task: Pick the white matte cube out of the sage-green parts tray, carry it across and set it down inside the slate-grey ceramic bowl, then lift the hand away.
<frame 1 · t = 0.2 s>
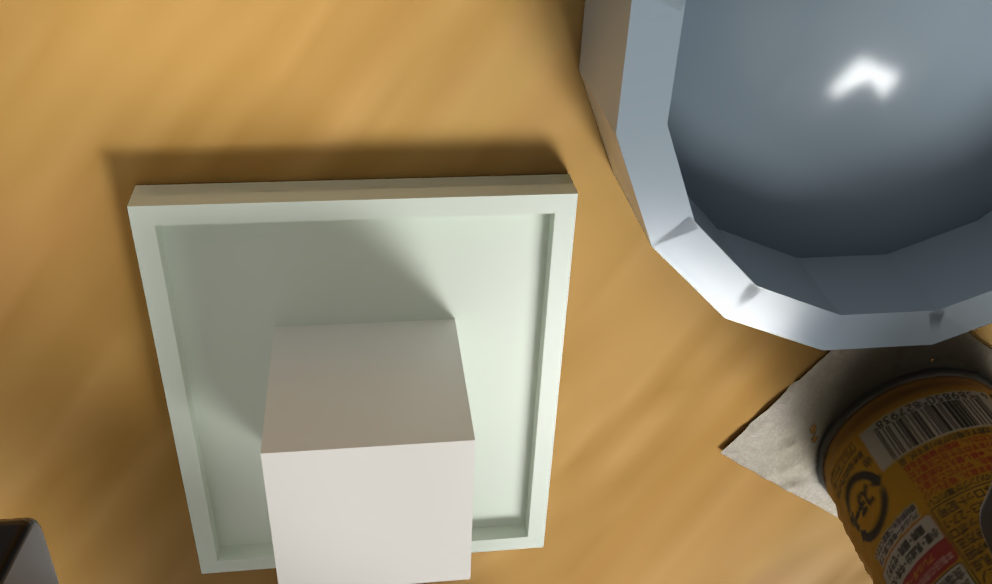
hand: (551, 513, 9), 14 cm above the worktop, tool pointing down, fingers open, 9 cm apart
white matte cube: (368, 392, 25), resting on tray
bowl: (887, 6, 21), on the worktop
tray: (368, 380, 25), on the worktop
condiment: (890, 421, 29), on the worktop
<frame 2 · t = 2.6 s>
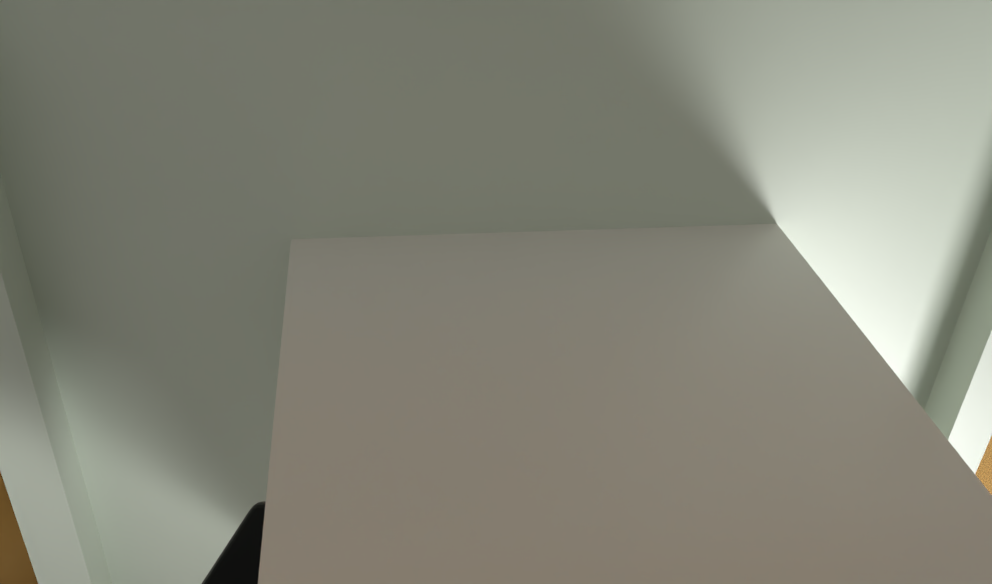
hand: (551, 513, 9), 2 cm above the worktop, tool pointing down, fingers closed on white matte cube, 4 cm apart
white matte cube: (528, 419, 10), resting on tray, touching gripper
tray: (520, 389, 10), on the worktop
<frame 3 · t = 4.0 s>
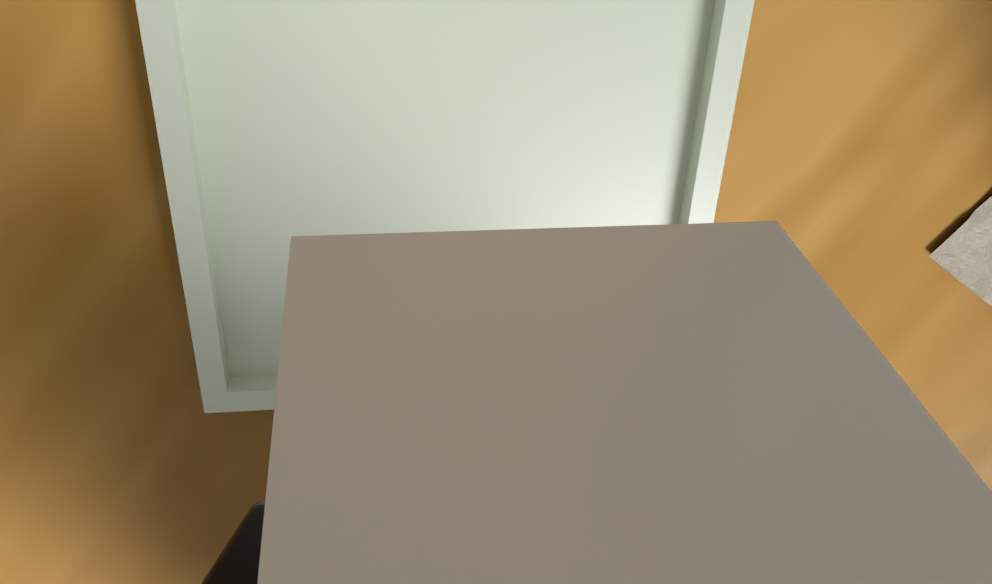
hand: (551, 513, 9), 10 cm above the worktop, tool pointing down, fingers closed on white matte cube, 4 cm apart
white matte cube: (528, 417, 10), point 9 cm above the worktop, touching gripper
tray: (450, 109, 17), on the worktop
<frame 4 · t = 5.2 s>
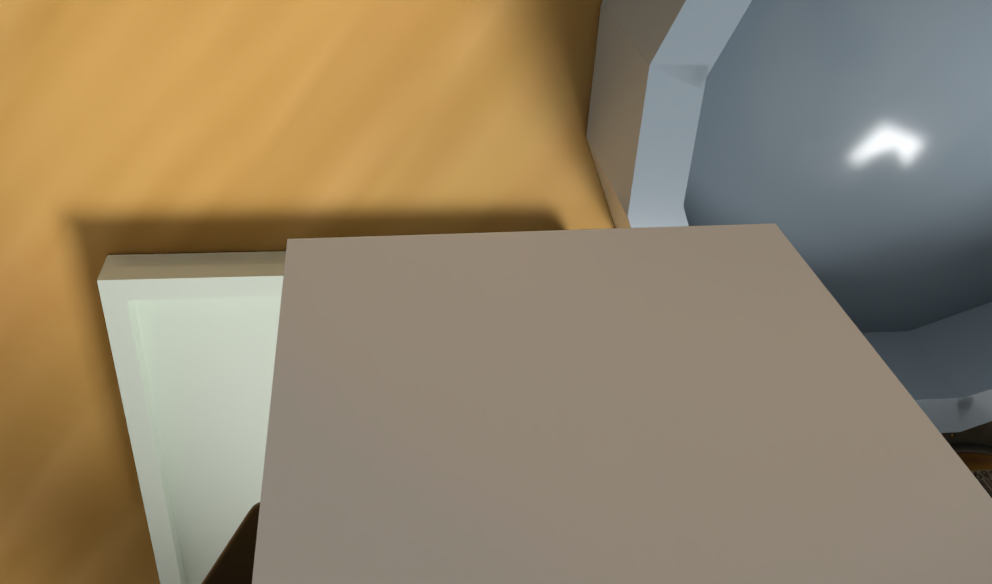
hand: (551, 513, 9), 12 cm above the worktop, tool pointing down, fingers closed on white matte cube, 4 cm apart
white matte cube: (525, 420, 10), point 11 cm above the worktop, touching gripper
bowl: (915, 74, 20), on the worktop
tray: (356, 455, 24), on the worktop
condiment: (906, 496, 28), on the worktop
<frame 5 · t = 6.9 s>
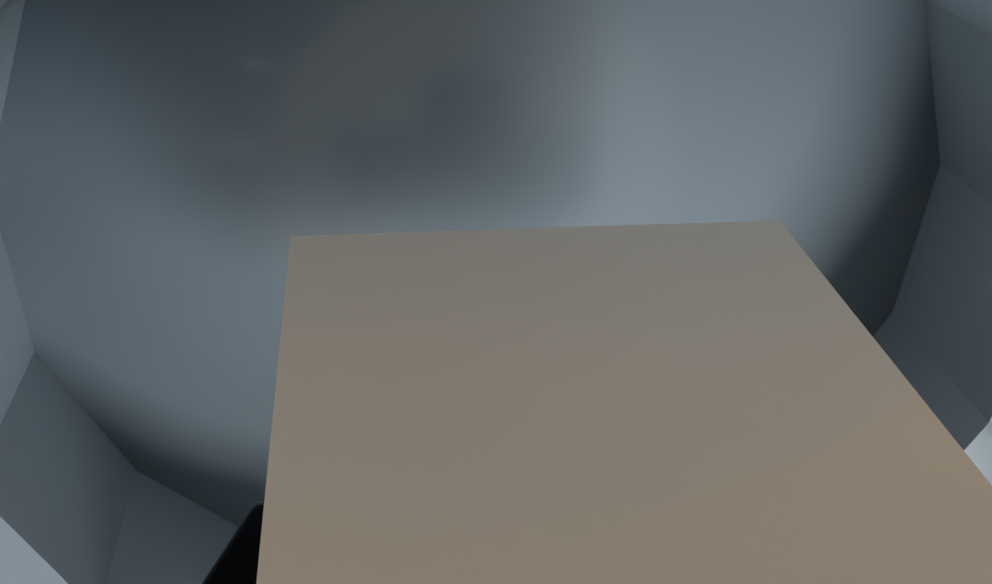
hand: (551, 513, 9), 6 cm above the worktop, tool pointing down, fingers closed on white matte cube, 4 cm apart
white matte cube: (529, 418, 10), point 4 cm above the worktop, touching gripper
bowl: (483, 219, 13), on the worktop
when the fingers open (4 cm above the worktop, at t = 8.0 s): white matte cube drops 2 cm, resting on bowl.
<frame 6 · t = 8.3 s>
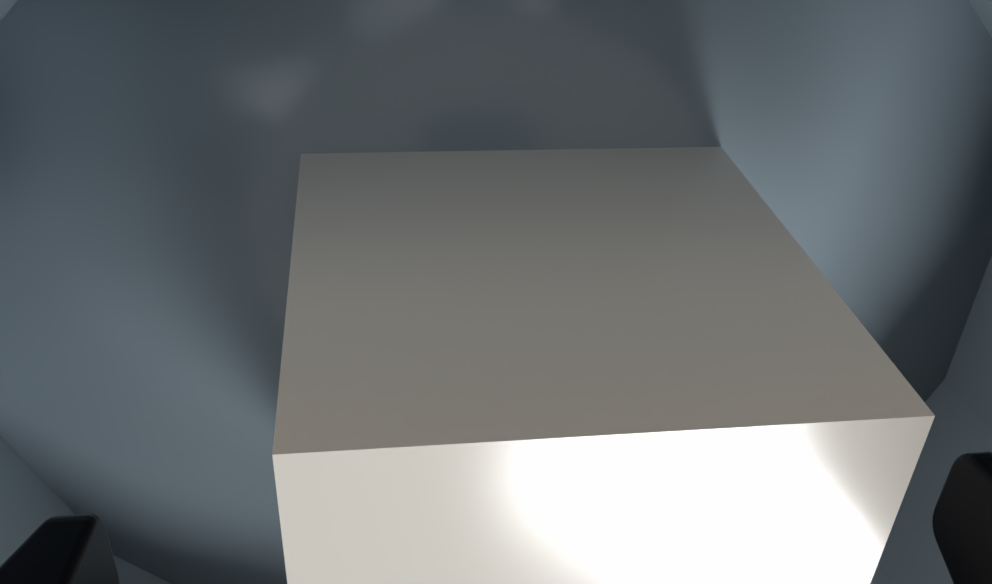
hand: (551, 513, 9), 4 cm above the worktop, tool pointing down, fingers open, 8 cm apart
white matte cube: (506, 323, 11), point 1 cm above the worktop, touching bowl
bowl: (496, 280, 12), on the worktop
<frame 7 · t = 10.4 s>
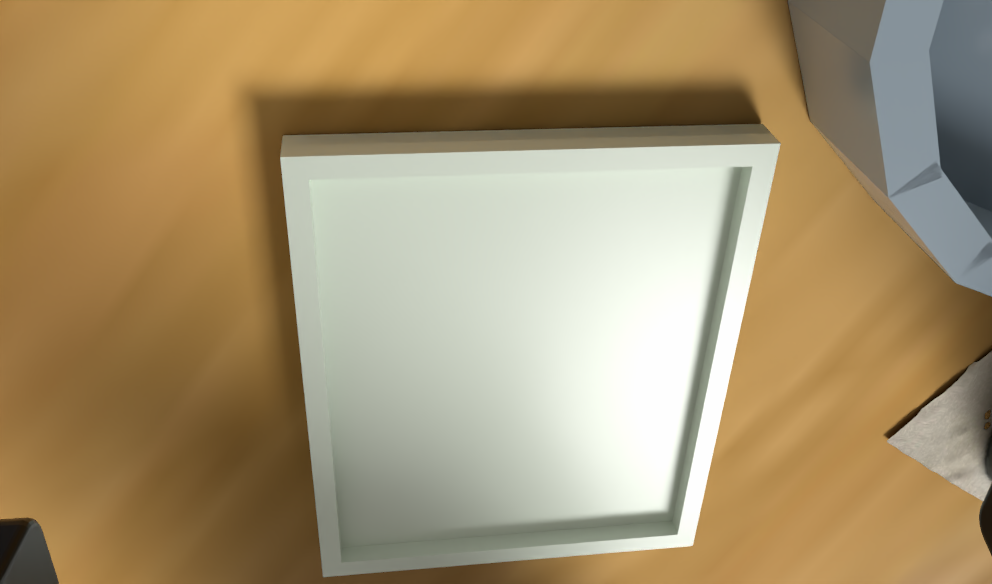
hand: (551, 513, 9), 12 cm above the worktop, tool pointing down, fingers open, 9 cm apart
tray: (517, 360, 23), on the worktop
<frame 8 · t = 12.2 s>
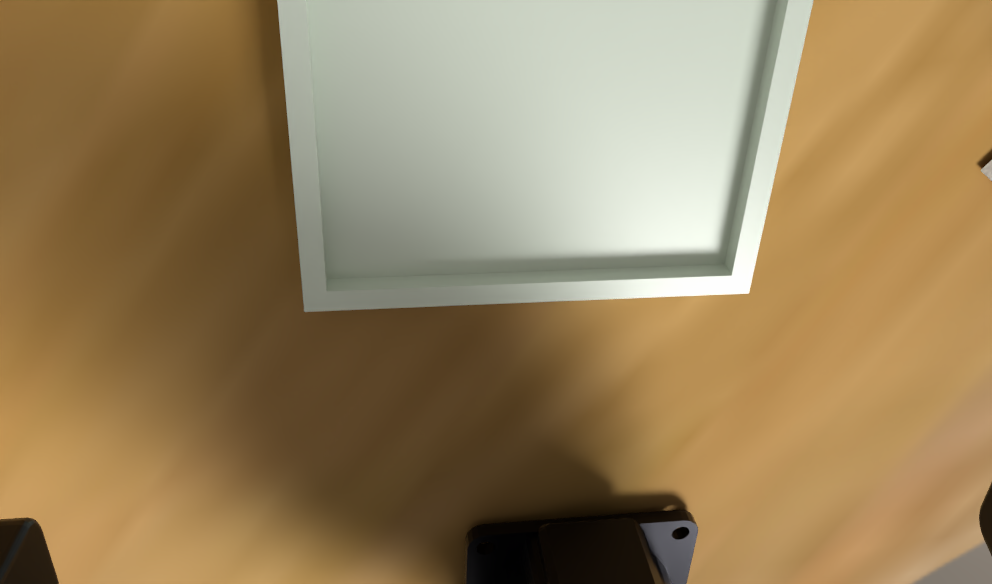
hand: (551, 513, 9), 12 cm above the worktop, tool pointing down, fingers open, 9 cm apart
tray: (543, 19, 18), on the worktop
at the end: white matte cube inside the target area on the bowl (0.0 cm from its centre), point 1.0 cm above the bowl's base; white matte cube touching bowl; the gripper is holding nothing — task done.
